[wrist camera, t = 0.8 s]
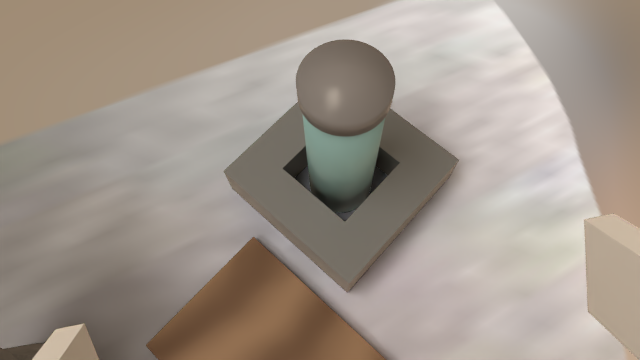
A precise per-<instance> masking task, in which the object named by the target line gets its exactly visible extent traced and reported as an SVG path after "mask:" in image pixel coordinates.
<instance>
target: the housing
mask: <svg viewBox="0 0 640 360" xmlns="http://www.w3.org/2000/svg"><path fill="white" fill-rule="evenodd" d="M458 161H459V160H458V159H457V158H456V157H454V156H453V155H452V154H450V153H449V152H448V151H446V150H445V149H444V148H442V147H441V146H440V145H438V144H437V143H436V142H434V141H433V140H432V139H430V138H429V137H428V136H426V135H425V134H423V133H422V132H421V131H419V130H418V129H417V128H415V127H414V126H413V125H411V124H410V123H409V122H407V121H406V120H405V119H403V118H402V117H401V116H399V115H398V114H397V113H395V112H394V111H393V110H391V109H390V110H389V112H388V114H387V115H386V117H385V121H384V126H383V131H382V136H381V141H380V146H379V151H378V155H377V160H376V165H375V166H376V167H377V168H379V169H380V170H381V171H383V172H384V173H385V174H386V175H388V176H387V177H386V178H385V179H384V180H383V182H382V183H381V184H380V185H379V186H378V187H377V188H376V189H375V190H374V191H373V192H372V193H371V194H370V195H369V197H368V198H367V199H366V200H365V201H364V202H363V203H362V204H361V205H360V206H359V207H358V208H357V209H356V210H355V212H354V213H353V214H352V215H351V216H350V217H349V218H348V219H347V220H346V221H343V220H342V219H341V218H340V217H339V216H338V215H336V214H335V213H334V212H333V211H332V210H331V209H329V208H328V207H327V206H326V205H325V204H324V203H322V202H321V201H320V200H319V199H318V198H317V197H315V196H314V195H313V194H312V193H311V192H309V191H308V190H307V189H306V188H305V187H304V186H302V185H301V184H300V183H299V182H298V181H297V180H295V179H294V178H295V177H296V176H297V175H298V174H299V173H300V172H301V171H302V170H303V169H304V168H305V167H306V166H307V165H308V163H307V153H306V143H305V134H304V124H303V114H302V112H301V110H300V107H299V104H298V102H297V103H296V104H295V105H294V106H293V107H292V108H291V109H290V110H289V111H287V112H286V113H285V114H284V115H283V116H282V117H281V118H280V119H279V120H278V121H277V122H276V123H275V124H274V125H273V126H271V127H270V128H269V129H268V130H267V131H266V132H265V133H264V134H263V135H262V136H261V137H260V138H259V139H258V140H256V141H255V142H254V143H253V144H252V145H251V146H250V147H249V148H248V149H247V150H246V151H245V152H244V153H243V154H241V155H240V156H239V157H238V158H237V159H236V160H235V161H234V162H233V163H232V164H231V165H230V166H229V167H228V168H227V169H225V170H224V173H225V175H226V177H227V179H228V181H229V183H230V185H231V187H232V189H233V190H234V191H236V192H237V193H238V194H239V195H240V196H241V197H242V198H243V199H244V200H245V201H247V202H248V203H249V204H250V205H251V206H252V207H253V208H254V209H255V210H257V211H258V212H259V213H260V214H261V215H262V216H263V217H264V218H265V219H266V220H268V221H269V222H270V223H271V224H272V225H273V226H274V227H275V228H276V229H278V230H279V231H280V232H281V233H282V234H283V235H284V236H285V237H286V238H287V239H289V240H290V241H291V242H292V243H293V244H294V245H295V246H296V247H297V248H299V249H300V250H301V251H302V252H303V253H304V254H305V255H306V256H307V257H308V258H310V259H311V260H312V261H313V262H314V263H315V264H316V265H317V266H318V267H320V268H321V269H322V270H323V271H324V272H325V273H326V274H327V275H328V276H329V277H331V278H332V279H333V280H334V281H335V282H336V283H337V284H338V285H339V286H341V287H342V288H343V289H344V290H345V291H346V292H347V293H348V291H349V290H350V289H351V288H352V287H353V286H354V285H355V284H356V282H357V281H358V280H359V279H360V278H361V277H362V276H363V274H364V273H365V272H366V271H367V270H368V269H369V268H370V267H371V265H372V264H373V263H374V262H375V261H376V260H377V259H378V257H379V256H380V255H381V254H382V253H383V252H384V251H385V250H386V248H387V247H388V246H389V245H390V244H391V243H392V242H393V240H394V239H395V238H396V237H397V236H398V235H399V234H400V233H401V231H402V230H403V229H404V228H405V227H406V226H407V225H408V223H409V222H410V221H411V220H412V219H413V218H414V217H415V216H416V214H417V213H418V212H419V211H420V210H421V209H422V208H423V206H424V205H425V204H426V203H427V202H428V201H429V200H430V199H431V197H432V196H433V195H434V194H435V193H436V192H437V191H438V190H439V188H440V187H441V186H442V185H443V184H444V183H445V182H446V180H447V179H448V178H449V176H450V175H451V173H452V171H453V169H454V168H455V166H456V164H457V162H458Z"/></svg>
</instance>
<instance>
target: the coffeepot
mask: <svg viewBox="0 0 640 360" xmlns="http://www.w3.org/2000/svg"><path fill="white" fill-rule="evenodd" d="M43 345H44V344H39V343H36V344H30V345H24V346H18V347H12V348H6V349H2V348H0V360H32V359H33V358H34V356H35V355H36V354H37V352H38V351H39V350H40V349H41V347H42V346H43Z"/></svg>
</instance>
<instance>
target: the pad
mask: <svg viewBox="0 0 640 360" xmlns="http://www.w3.org/2000/svg"><path fill="white" fill-rule="evenodd" d="M146 346H147V347H148V349H149V350H150V351H151V352H152V353H153V354H154V355H155V356H156V357H157V358H158V360H386V359H385V358H384V357H383V356H381V355H380V354H379V353H378V352H377V351H376V350H375V349H374V348H373V347H372V346H371V345H370V344H369V343H367V342H366V341H365V340H364V339H363V338H362V337H361V336H360V335H359V334H358V333H357V332H356V331H355V330H353V329H352V328H351V327H350V326H349V325H348V324H347V323H346V322H345V321H344V320H343V319H342V318H340V317H339V316H338V315H337V314H336V313H335V312H334V311H333V310H332V309H331V308H330V307H329V306H328V305H326V304H325V303H324V302H323V301H322V300H321V299H320V298H319V297H318V296H317V295H316V294H315V293H314V292H312V291H311V290H310V289H309V288H308V287H307V286H306V285H305V284H304V283H303V282H302V281H301V280H300V279H298V278H297V277H296V276H295V275H294V274H293V273H292V272H291V271H290V270H289V269H288V268H287V267H286V266H284V265H283V264H282V263H281V262H280V261H279V260H278V259H277V258H276V257H275V256H274V255H273V254H272V253H270V252H269V251H268V250H267V249H266V248H265V247H264V246H263V245H262V244H261V243H260V242H259V241H258V240H256V239H255V238H254V237H253V238H252V239H251V240H250V241H249V242H248V243H247V244H246V245H245V246H244V247H243V248H242V249H241V250H240V251H239V252H238V253H237V254H236V255H235V256H234V257H233V258H232V259H231V260H230V261H229V262H228V263H227V264H226V265H225V266H224V267H223V268H222V269H221V270H220V271H219V272H218V273H217V274H216V275H215V276H214V277H213V278H212V279H211V280H210V281H209V282H208V283H207V284H206V285H205V286H204V287H203V288H202V289H201V290H200V291H199V292H198V293H197V294H196V295H195V296H194V297H193V298H192V299H191V300H190V301H189V302H188V303H187V304H186V305H185V306H184V307H183V308H182V309H181V310H180V311H179V312H178V313H177V314H176V315H175V316H174V317H173V318H172V319H171V320H170V321H169V322H168V323H167V324H166V325H165V326H164V327H163V328H162V329H161V330H160V331H159V332H158V333H157V334H156V335H155V336H154V338H153V339H152V340H151V341H150V342H149V343H148V344H147V345H146Z"/></svg>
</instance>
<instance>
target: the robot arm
mask: <svg viewBox="0 0 640 360" xmlns="http://www.w3.org/2000/svg"><path fill="white" fill-rule="evenodd" d="M584 227H585V252H586V277H587V302H588V312H589V313H590V314H591V315H592V316H593V317H594V318H595V319H596V320H597V321H598V322H599V323H601V324H602V325H603V326H604V327H605V328H606V329H607V330H608V331H609V332H610V333H611V334H612V335H613V336H614V337H615V338H616V339H617V340H618V341H619V342H620V343H621V344H623V345H624V346H625V347H626V348H627V349H628V350H629V351H630V352H631V353H632V354H633V355H634V356H635V357H636V358H637V359H638V360H640V228H638V227H636V226H635V225H633V224H631V223H629V222H627V221H626V220H624V219H622V218H621V217H619V216H617V215H615V214H609V215H604V216H599V217H594V218H589V219H585V220H584ZM32 360H99V358H98V356H97V353H96V351H95V348H94V346H93V343H92V341H91V338H90V336H89V333H88V331H87V328H86V326H85V323H84V324H79V325H74V326H69V327H64V328H60V329H55V331H54V332H53V333H52V335H51V336H50V337H49V338H48V340H47V341H46V342H45V343H44V345H43V346H42V347H41V349H40V350H39V351H38V352H37V354H36V355H35V356H34V358H33V359H32Z"/></svg>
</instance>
